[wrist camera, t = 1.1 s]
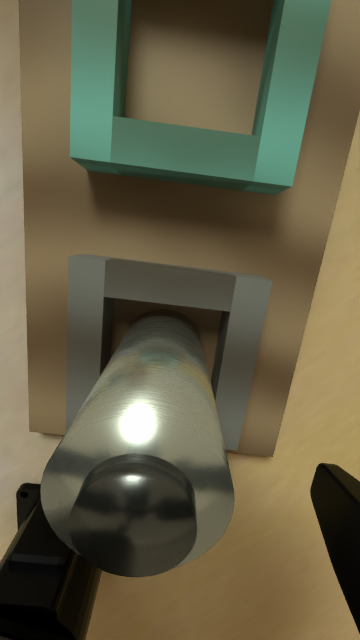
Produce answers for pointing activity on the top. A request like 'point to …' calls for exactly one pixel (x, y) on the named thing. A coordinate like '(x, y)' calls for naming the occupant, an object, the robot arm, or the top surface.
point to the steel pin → (143, 457)
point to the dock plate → (181, 187)
